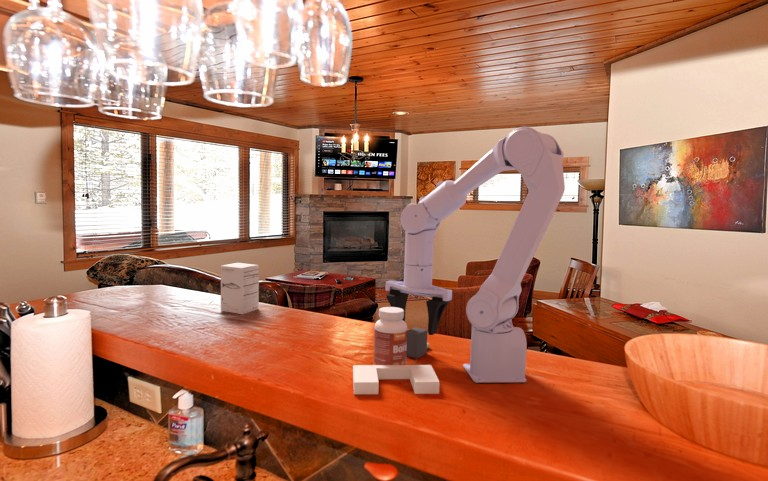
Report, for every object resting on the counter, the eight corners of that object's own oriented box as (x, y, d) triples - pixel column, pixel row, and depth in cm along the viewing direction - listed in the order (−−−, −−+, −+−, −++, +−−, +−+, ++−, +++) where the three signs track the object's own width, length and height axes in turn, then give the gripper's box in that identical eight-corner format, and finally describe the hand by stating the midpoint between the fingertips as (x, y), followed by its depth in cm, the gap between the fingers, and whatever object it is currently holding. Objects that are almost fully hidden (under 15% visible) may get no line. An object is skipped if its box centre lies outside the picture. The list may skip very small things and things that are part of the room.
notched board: (430, 375, 82) (430, 364, 81) (439, 393, 74) (439, 381, 74) (352, 376, 80) (353, 365, 80) (353, 394, 73) (353, 382, 73)
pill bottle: (396, 376, 81) (398, 315, 80) (367, 368, 84) (368, 310, 83) (411, 365, 86) (413, 308, 85) (383, 359, 89) (385, 304, 88)
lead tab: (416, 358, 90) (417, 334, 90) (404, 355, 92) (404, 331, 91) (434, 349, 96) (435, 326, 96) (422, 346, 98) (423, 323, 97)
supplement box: (219, 311, 122) (219, 265, 120) (238, 306, 128) (238, 261, 127) (241, 315, 119) (241, 267, 118) (259, 309, 126) (259, 264, 124)
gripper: (460, 266, 90) (456, 332, 91) (399, 258, 98) (397, 319, 100) (443, 270, 84) (440, 341, 86) (380, 261, 93) (378, 326, 94)
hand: (415, 330), depth 92 cm, fingers open, 7 cm apart
